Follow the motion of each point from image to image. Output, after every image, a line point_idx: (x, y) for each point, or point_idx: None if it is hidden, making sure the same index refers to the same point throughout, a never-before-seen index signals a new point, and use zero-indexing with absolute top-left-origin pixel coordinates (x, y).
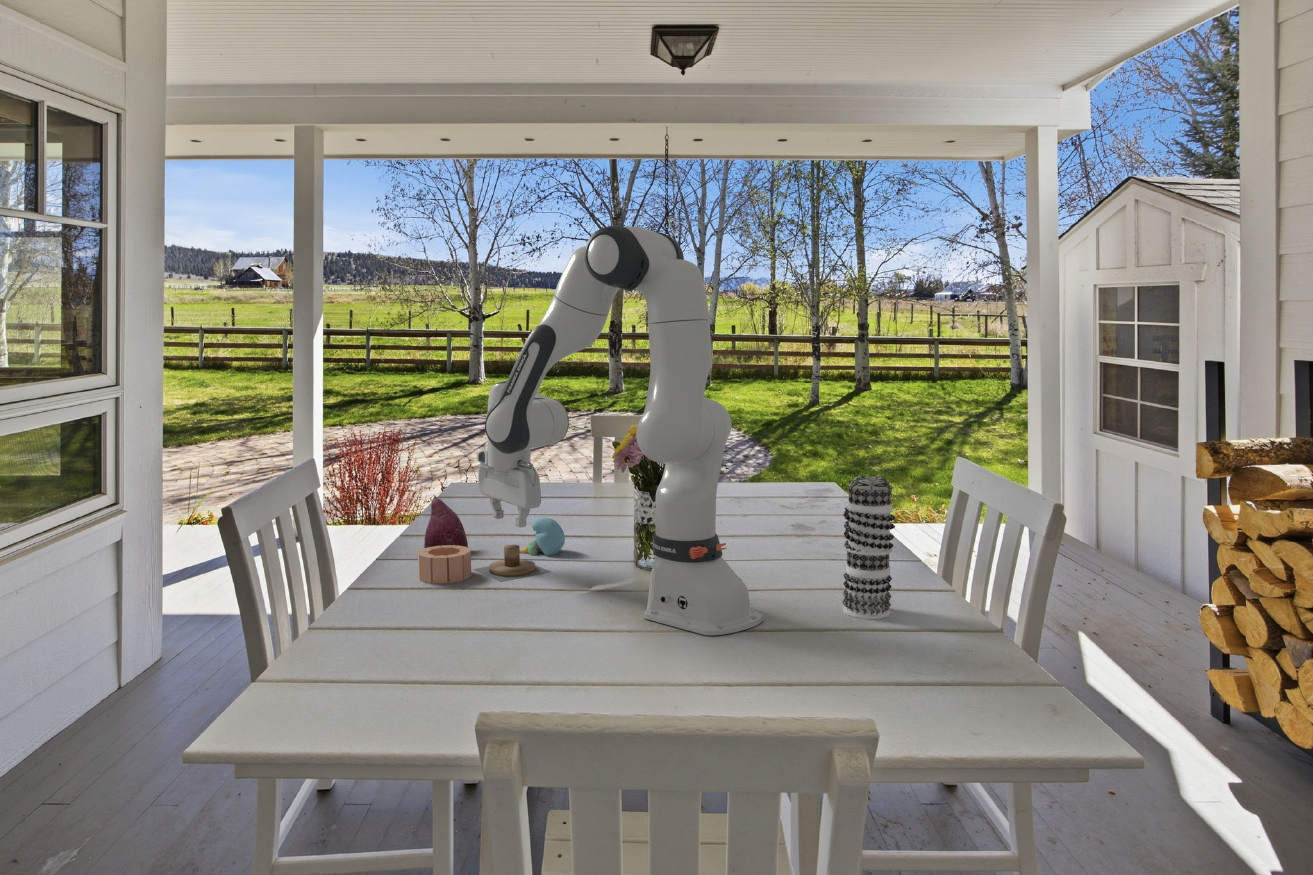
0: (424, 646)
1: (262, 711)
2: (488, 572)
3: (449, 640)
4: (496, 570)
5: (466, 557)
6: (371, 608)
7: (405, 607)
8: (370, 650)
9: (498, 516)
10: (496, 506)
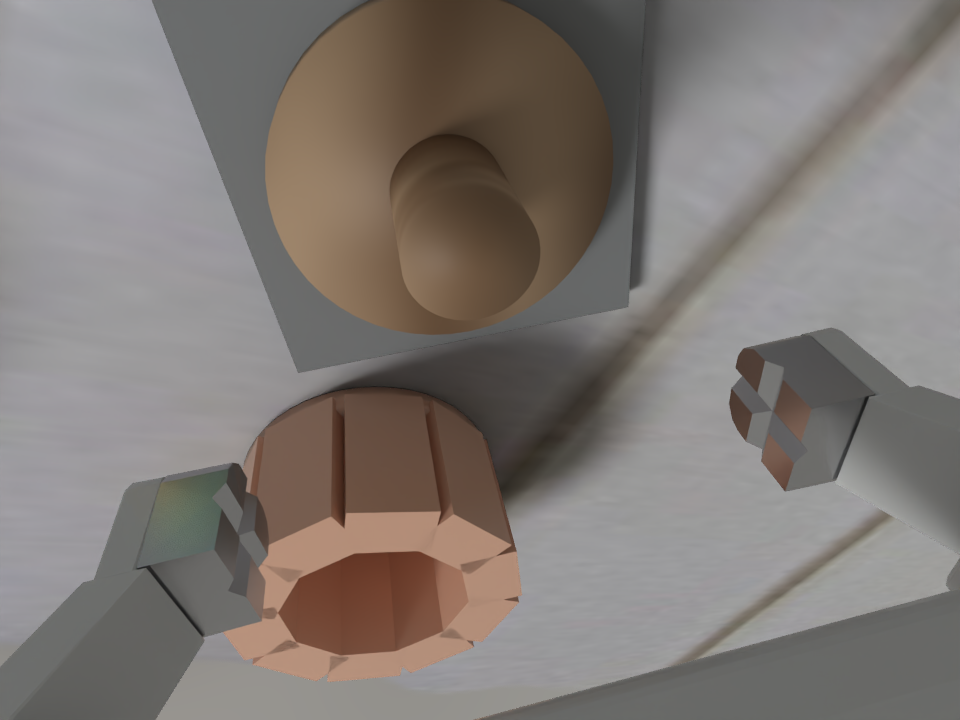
0: (926, 561)
1: None
2: None
3: None
4: (511, 314)
5: (484, 512)
6: (574, 640)
7: (629, 585)
8: None
9: (260, 530)
10: (143, 672)
